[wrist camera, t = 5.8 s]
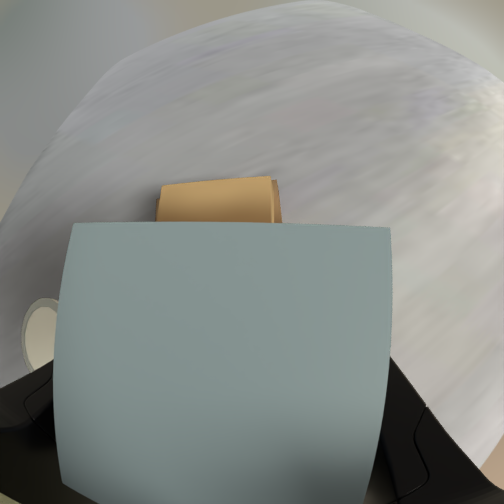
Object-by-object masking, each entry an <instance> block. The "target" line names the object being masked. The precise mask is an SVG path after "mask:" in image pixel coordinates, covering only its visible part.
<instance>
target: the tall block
mask: <svg viewBox="0 0 504 504" xmlns="http://www.w3.org/2000/svg"><path fill="white" fill-rule="evenodd" d="M391 330H392V252H391V234H390V228H385V227H366V226H345V225H321V224H292V223H253V222H97V223H74V224H73V228H72V232H71V236H70V240H69V245H68V249H67V254H66V259H65V264H64V270H63V275H62V281H61V288H60V295H59V302H58V310H57V319H56V330H55V343H54V364H53V401H54V421H55V434H56V443H57V452H58V459H59V466H60V472H61V478H62V483H63V484H65V485H67V486H68V487H70V488H72V489H73V490H75V491H77V492H78V493H80V494H82V495H84V496H86V497H87V498H89V499H91V500H93V501H95V502H97V503H99V504H363V501H364V498H365V494H366V491H367V487H368V484H369V480H370V476H371V472H372V468H373V464H374V459H375V455H376V450H377V445H378V440H379V435H380V429H381V424H382V418H383V411H384V404H385V397H386V389H387V381H388V371H389V360H390V347H391Z"/></svg>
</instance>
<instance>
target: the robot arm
mask: <svg viewBox="0 0 504 504" xmlns="http://www.w3.org/2000/svg"><path fill="white" fill-rule="evenodd" d="M53 364H54V359H53V360H51V361H50V362H48V363H46V364H45V365H43V366H41V367H40V368H38V369H36V370H35V371H33V372H31V373H29V374H27V375H25V376H24V377H22V378H20V379H18V380H16V381H14V382H12V383H10V384H8V385H6V386H4V387H2V388H0V504H99V503H97V502H95V501H93V500H91V499H89V498H87V497H86V496H84V495H82V494H80V493H78V492H77V491H75V490H73V489H72V488H70V487H68V486H67V485H65V484H63V483H62V478H61V472H60V466H59V459H58V452H57V443H56V434H55V421H54V401H53ZM363 504H504V490H502V489H500V488H499V487H497V486H495V485H494V484H493V483H492V482H490V481H489V480H488V479H487V478H486V477H485V476H484V474H483V473H482V472H481V471H480V470H479V469H478V468H477V466H476V465H475V464H474V463H473V462H472V461H471V460H470V459H469V457H468V456H467V455H466V454H465V453H464V452H463V451H462V450H461V448H460V447H459V446H458V445H457V444H456V443H455V441H454V440H453V439H452V438H451V437H450V435H449V434H448V433H447V432H446V431H445V429H444V428H443V427H442V425H441V424H440V423H439V421H438V420H437V419H436V417H435V416H434V414H433V413H432V412H431V410H430V409H429V408H428V407H426V404H425V402H424V401H423V399H422V398H421V397H420V395H419V394H418V393H417V391H416V390H415V389H414V387H413V386H412V384H411V383H410V382H409V380H408V379H407V378H406V376H405V375H404V374H403V372H402V371H401V370H400V368H399V367H398V366H397V365H396V363H395V362H394V361H393V359H392V358H391V357H390V360H389V371H388V381H387V389H386V397H385V404H384V411H383V418H382V424H381V429H380V435H379V440H378V445H377V450H376V455H375V459H374V464H373V468H372V472H371V476H370V480H369V484H368V487H367V491H366V494H365V498H364V501H363Z"/></svg>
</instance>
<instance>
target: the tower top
mask: <svg viewBox="0 0 504 504" xmlns="http://www.w3.org/2000/svg"><path fill="white" fill-rule="evenodd" d="M157 222H253V223H274V190H273V186H272V181H271V177H270V176H263V177H247V178H234V179H221V180H210V181H200V182H190V183H181V184H172V185H164V186H162V188H161V195H160V202H159V209H158V216H157Z"/></svg>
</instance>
